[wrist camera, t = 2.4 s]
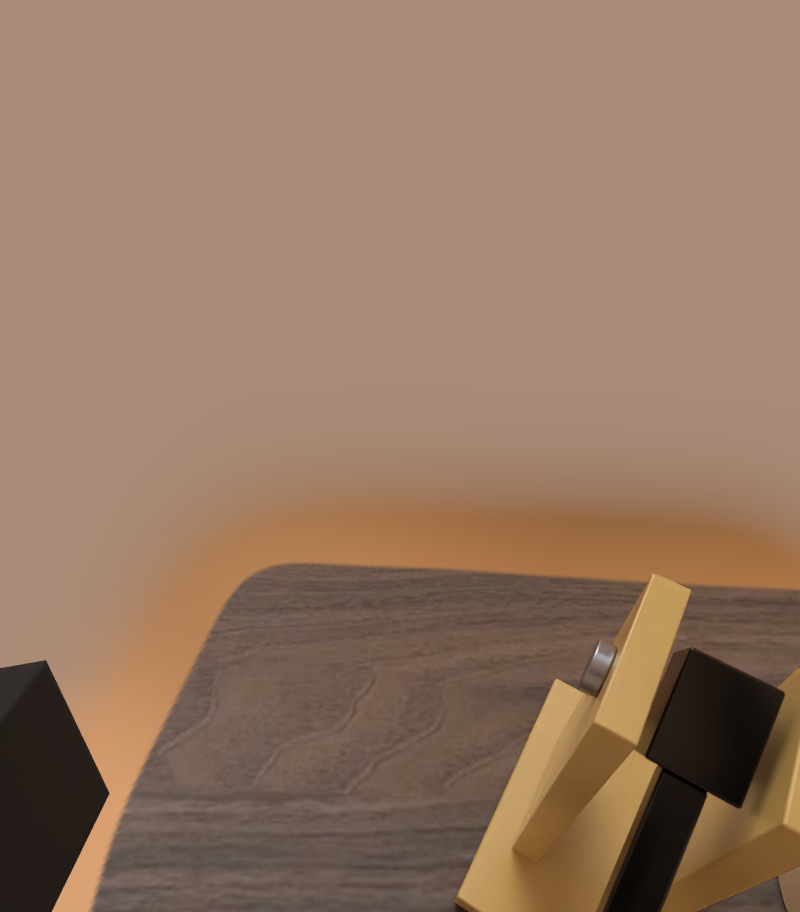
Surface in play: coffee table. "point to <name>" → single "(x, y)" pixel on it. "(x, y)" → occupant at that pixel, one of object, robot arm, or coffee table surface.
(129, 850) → the coffee table surface
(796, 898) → the lamp
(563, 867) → the switch base
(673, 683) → the switch
